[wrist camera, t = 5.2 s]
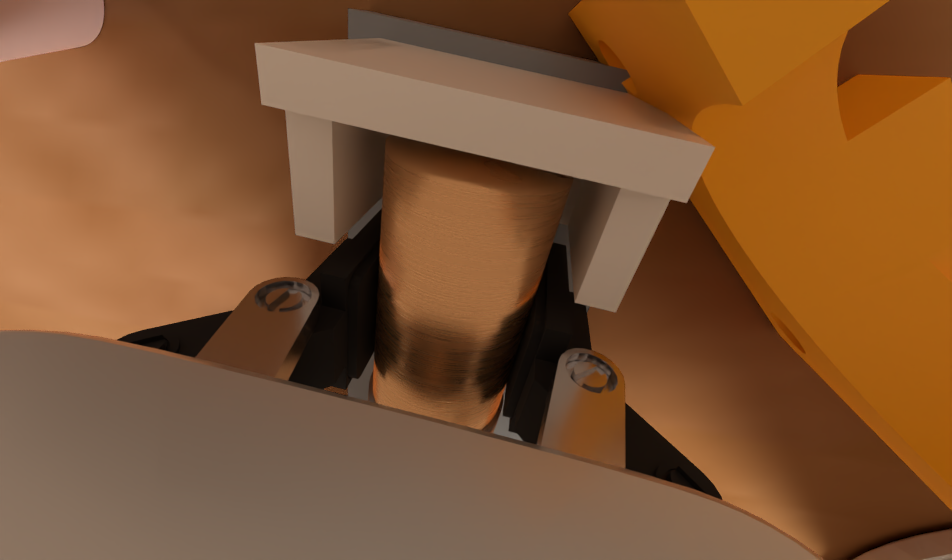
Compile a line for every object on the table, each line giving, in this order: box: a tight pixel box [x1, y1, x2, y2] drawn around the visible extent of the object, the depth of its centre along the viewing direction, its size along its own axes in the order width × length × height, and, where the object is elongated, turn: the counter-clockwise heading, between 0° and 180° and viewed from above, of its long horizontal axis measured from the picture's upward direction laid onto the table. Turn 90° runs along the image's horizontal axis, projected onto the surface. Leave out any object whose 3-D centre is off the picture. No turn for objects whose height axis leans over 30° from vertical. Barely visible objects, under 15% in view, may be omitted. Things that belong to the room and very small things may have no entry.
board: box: [348, 8, 630, 441], centre depth 16 cm, size 8×24×1 cm, turn 170°
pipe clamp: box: [568, 0, 952, 511], centre depth 8 cm, size 12×4×6 cm, turn 42°
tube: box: [368, 134, 574, 433], centre depth 12 cm, size 4×16×4 cm, turn 170°
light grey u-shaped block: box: [255, 38, 715, 313], centre depth 8 cm, size 6×3×5 cm, turn 80°
